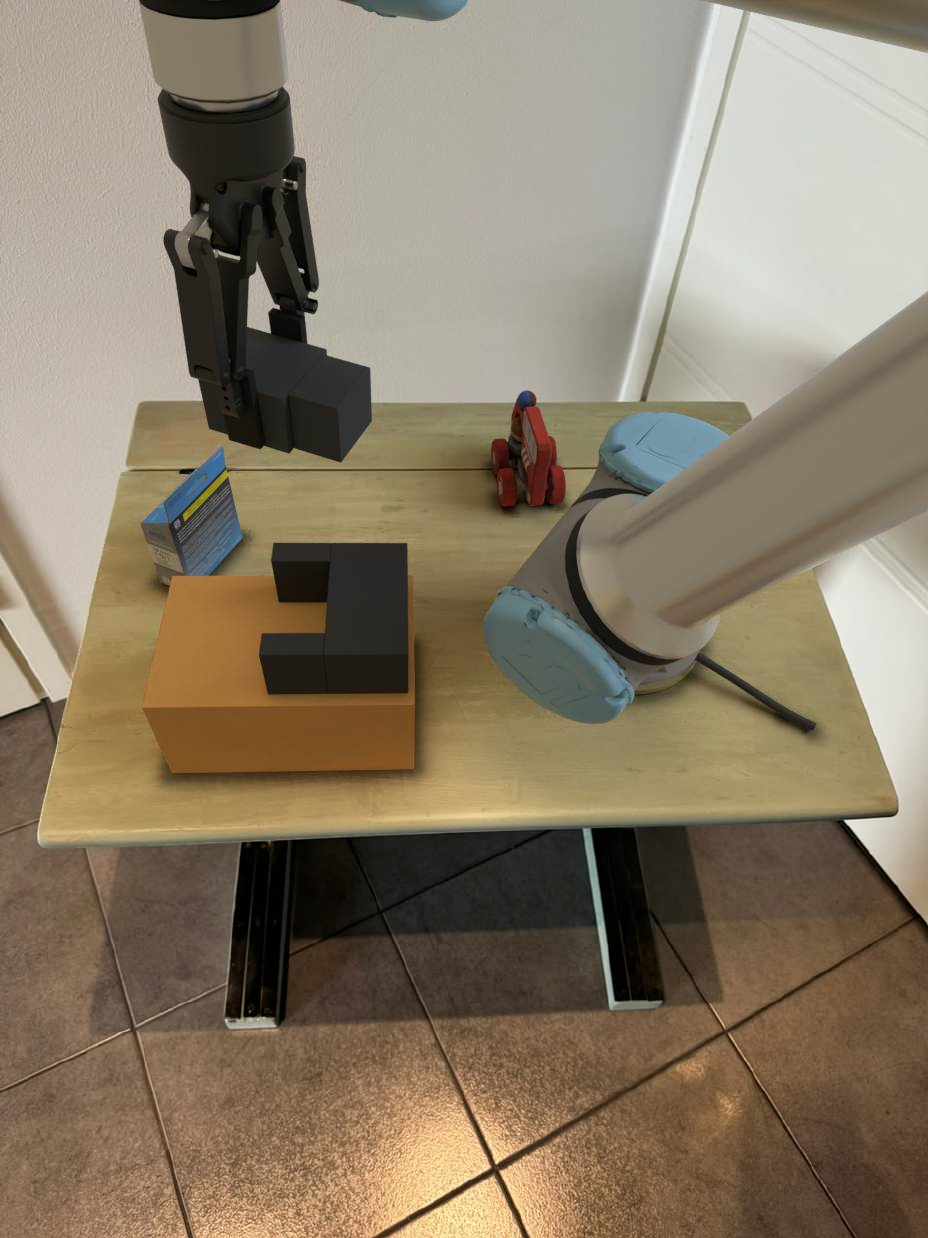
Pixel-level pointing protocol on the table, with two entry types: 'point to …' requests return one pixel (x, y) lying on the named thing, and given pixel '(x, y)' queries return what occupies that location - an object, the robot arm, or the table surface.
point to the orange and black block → (289, 665)
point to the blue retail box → (194, 523)
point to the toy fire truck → (528, 458)
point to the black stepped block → (302, 397)
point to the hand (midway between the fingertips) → (272, 412)
